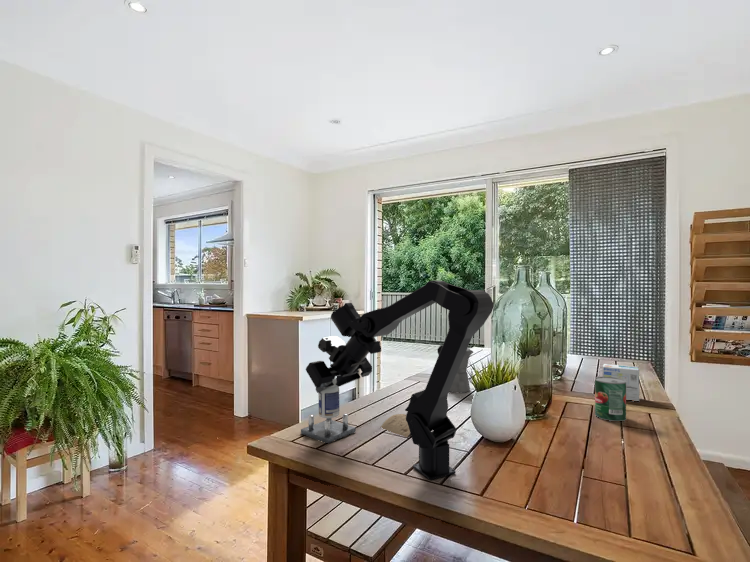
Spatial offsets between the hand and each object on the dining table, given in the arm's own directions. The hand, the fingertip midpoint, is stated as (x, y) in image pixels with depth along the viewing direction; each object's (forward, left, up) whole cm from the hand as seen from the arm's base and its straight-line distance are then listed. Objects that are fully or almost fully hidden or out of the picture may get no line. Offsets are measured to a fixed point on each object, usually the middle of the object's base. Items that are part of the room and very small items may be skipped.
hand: (325, 389), depth 105 cm
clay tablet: (-6, -21, -12) cm, 25 cm away
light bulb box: (-16, -100, -11) cm, 102 cm away
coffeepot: (+19, -57, -11) cm, 61 cm away
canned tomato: (-27, -77, -11) cm, 83 cm away
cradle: (-1, 0, -11) cm, 11 cm away
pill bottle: (-1, -1, -7) cm, 7 cm away
